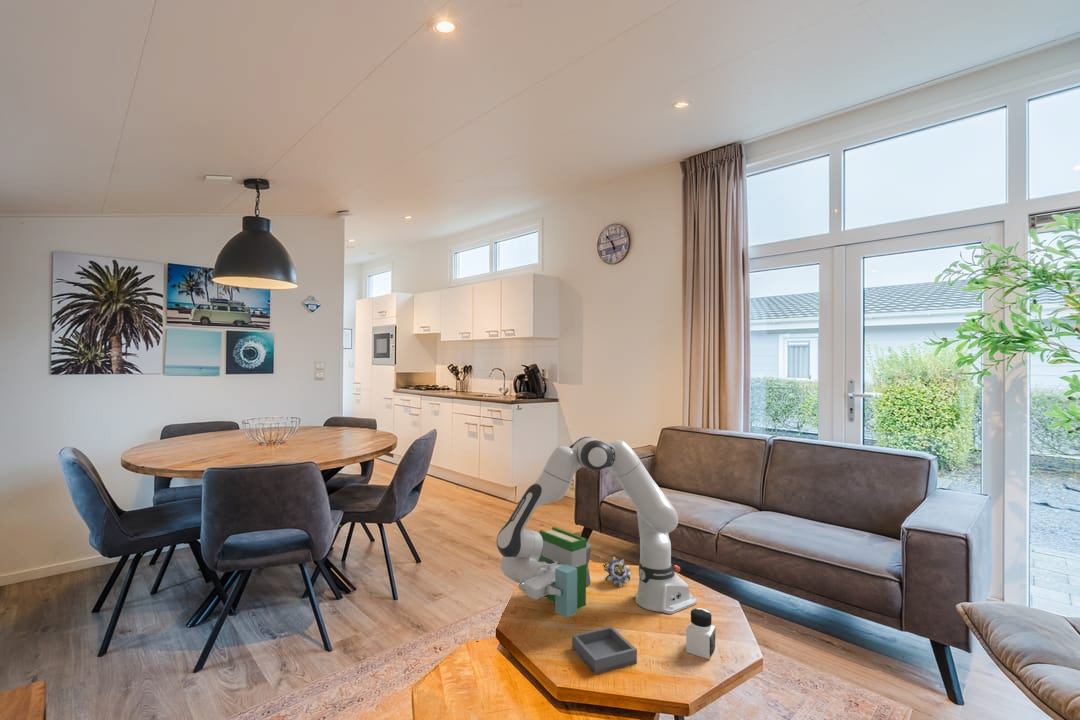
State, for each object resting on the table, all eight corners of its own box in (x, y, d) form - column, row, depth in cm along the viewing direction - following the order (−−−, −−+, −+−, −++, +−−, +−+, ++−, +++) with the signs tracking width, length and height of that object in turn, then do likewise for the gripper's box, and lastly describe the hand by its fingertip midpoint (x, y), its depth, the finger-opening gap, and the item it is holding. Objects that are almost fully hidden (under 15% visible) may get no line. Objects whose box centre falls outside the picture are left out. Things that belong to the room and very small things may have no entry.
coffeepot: (596, 588, 192) (597, 542, 192) (574, 591, 189) (574, 544, 190) (582, 573, 207) (583, 530, 207) (561, 575, 204) (562, 531, 204)
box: (611, 638, 156) (611, 626, 156) (636, 663, 143) (636, 649, 144) (572, 648, 151) (572, 635, 151) (595, 674, 138) (595, 660, 138)
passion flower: (619, 600, 194) (608, 580, 189) (604, 584, 204) (593, 565, 199) (640, 581, 197) (629, 561, 193) (624, 566, 207) (613, 547, 202)
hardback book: (538, 594, 187) (539, 530, 187) (553, 588, 192) (553, 526, 192) (571, 611, 174) (572, 543, 174) (585, 605, 178) (586, 538, 179)
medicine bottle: (710, 660, 145) (710, 619, 146) (685, 652, 149) (686, 612, 149) (715, 648, 151) (715, 609, 152) (692, 641, 155) (692, 603, 155)
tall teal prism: (565, 606, 161) (565, 564, 161) (577, 612, 158) (577, 568, 158) (555, 612, 158) (555, 568, 158) (566, 617, 154) (566, 573, 154)
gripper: (515, 576, 160) (545, 590, 150) (557, 559, 174) (588, 570, 164) (515, 596, 159) (545, 611, 150) (557, 576, 174) (588, 589, 164)
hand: (568, 589), depth 157 cm, fingers closed on tall teal prism, 5 cm apart
